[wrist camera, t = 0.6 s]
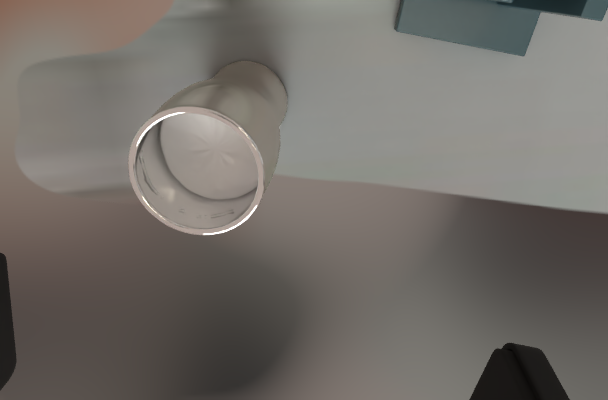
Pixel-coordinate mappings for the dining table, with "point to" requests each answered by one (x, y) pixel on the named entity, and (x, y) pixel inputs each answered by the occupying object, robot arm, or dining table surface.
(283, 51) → the dining table surface
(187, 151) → the metal tumbler
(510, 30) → the bracket
